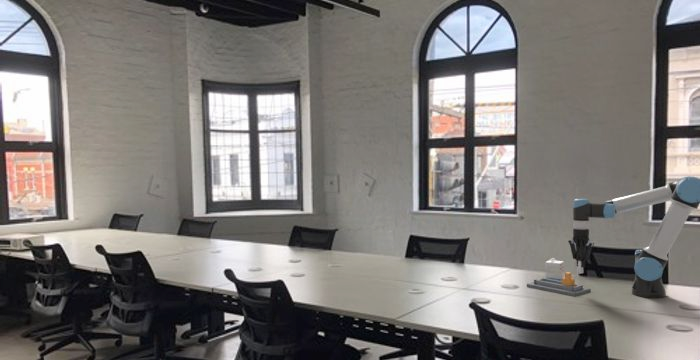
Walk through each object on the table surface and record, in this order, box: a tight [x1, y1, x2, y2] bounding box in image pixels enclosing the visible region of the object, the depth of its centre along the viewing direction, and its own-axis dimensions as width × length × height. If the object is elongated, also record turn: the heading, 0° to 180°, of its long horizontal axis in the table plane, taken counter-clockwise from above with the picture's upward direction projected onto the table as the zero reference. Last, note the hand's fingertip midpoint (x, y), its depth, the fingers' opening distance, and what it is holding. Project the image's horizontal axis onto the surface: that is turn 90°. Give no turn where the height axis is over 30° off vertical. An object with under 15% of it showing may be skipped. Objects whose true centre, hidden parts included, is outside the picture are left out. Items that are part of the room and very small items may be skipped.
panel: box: [526, 277, 592, 297], centre depth 270 cm, size 28×16×4 cm, turn 36°
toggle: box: [562, 271, 576, 287], centre depth 265 cm, size 5×4×8 cm
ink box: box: [544, 257, 565, 281], centre depth 288 cm, size 9×8×13 cm
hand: (580, 273), depth 260 cm, fingers closed
